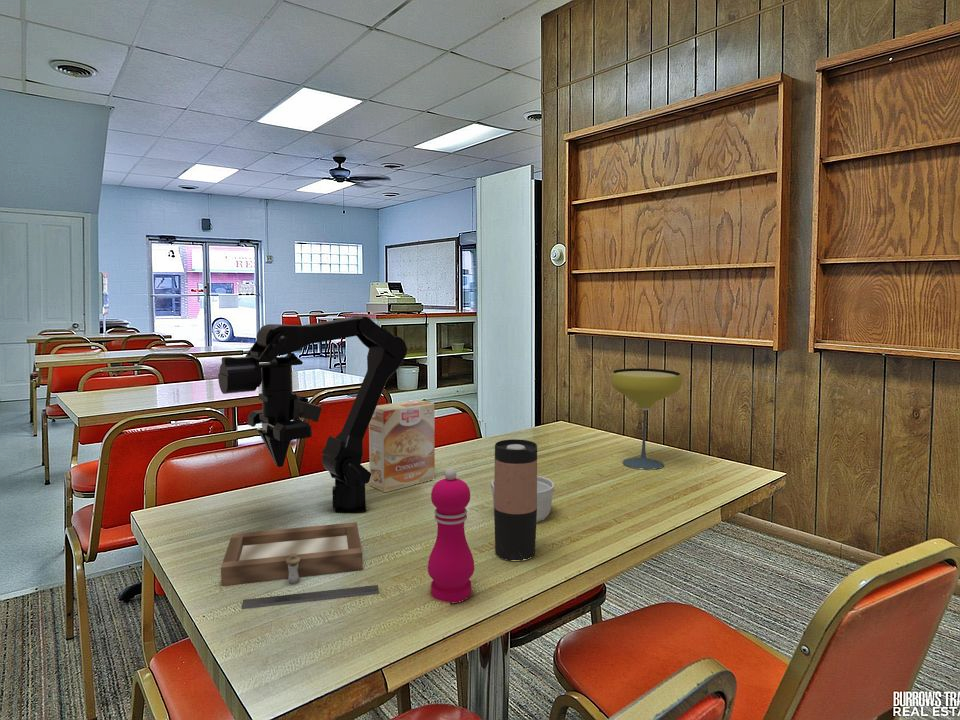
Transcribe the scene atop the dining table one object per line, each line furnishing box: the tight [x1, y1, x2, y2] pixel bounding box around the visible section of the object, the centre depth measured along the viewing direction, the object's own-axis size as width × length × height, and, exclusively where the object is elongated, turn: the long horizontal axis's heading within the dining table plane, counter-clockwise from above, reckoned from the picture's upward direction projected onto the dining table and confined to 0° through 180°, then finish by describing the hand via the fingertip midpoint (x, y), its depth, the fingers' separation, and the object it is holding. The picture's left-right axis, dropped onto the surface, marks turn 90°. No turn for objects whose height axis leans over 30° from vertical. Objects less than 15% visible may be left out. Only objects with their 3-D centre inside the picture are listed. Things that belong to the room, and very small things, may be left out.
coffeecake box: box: [368, 399, 436, 493], centre depth 150 cm, size 15×7×20 cm, turn 131°
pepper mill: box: [427, 468, 475, 603], centre depth 95 cm, size 7×7×20 cm
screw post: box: [287, 563, 300, 585], centre depth 99 cm, size 2×2×4 cm
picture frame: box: [220, 521, 363, 587], centre depth 106 cm, size 22×17×4 cm
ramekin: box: [490, 475, 555, 523], centre depth 130 cm, size 13×13×7 cm
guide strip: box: [240, 584, 380, 610], centre depth 94 cm, size 20×2×1 cm, turn 104°
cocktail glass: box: [610, 367, 683, 469], centre depth 166 cm, size 18×18×25 cm
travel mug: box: [493, 438, 538, 561], centre depth 110 cm, size 8×8×20 cm
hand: (279, 466), depth 123 cm, fingers closed
